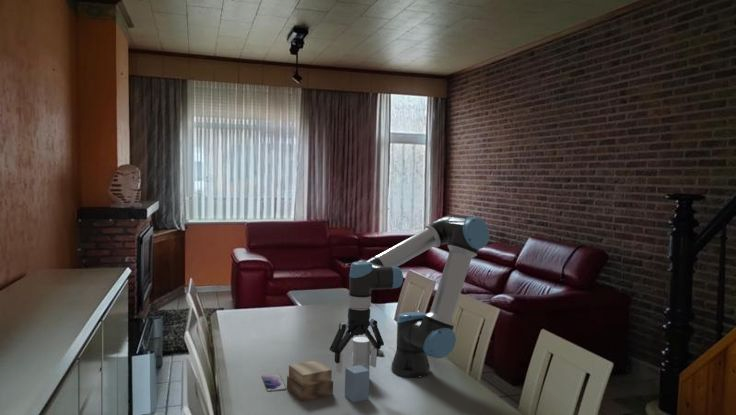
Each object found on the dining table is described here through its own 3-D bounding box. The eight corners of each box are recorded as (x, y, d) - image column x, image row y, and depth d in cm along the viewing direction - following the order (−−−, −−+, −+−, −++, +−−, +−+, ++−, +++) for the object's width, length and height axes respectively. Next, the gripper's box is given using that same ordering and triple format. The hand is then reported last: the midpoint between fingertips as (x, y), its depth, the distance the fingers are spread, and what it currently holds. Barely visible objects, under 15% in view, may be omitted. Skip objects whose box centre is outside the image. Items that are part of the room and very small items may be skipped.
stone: (390, 351, 226) (370, 353, 221) (389, 358, 227) (369, 361, 222) (369, 338, 241) (350, 340, 236) (369, 345, 241) (350, 347, 236)
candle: (368, 375, 202) (370, 336, 202) (369, 382, 195) (371, 342, 195) (350, 375, 202) (352, 336, 201) (351, 382, 195) (352, 342, 194)
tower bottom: (317, 383, 194) (317, 370, 193) (332, 395, 183) (333, 381, 183) (286, 389, 187) (287, 375, 187) (301, 402, 177) (301, 387, 177)
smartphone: (266, 391, 184) (261, 375, 198) (266, 393, 184) (260, 377, 198) (287, 388, 186) (279, 373, 200) (287, 391, 186) (279, 375, 200)
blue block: (359, 392, 186) (360, 364, 185) (368, 399, 181) (369, 370, 180) (344, 396, 183) (345, 367, 182) (353, 402, 178) (354, 373, 177)
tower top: (316, 370, 193) (316, 360, 193) (331, 380, 184) (331, 369, 183) (288, 376, 187) (289, 365, 186) (302, 387, 178) (302, 375, 177)
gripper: (383, 302, 190) (380, 360, 191) (321, 308, 176) (318, 370, 177) (395, 306, 183) (392, 367, 184) (332, 313, 170) (329, 378, 171)
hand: (356, 369), depth 181 cm, fingers open, 13 cm apart
